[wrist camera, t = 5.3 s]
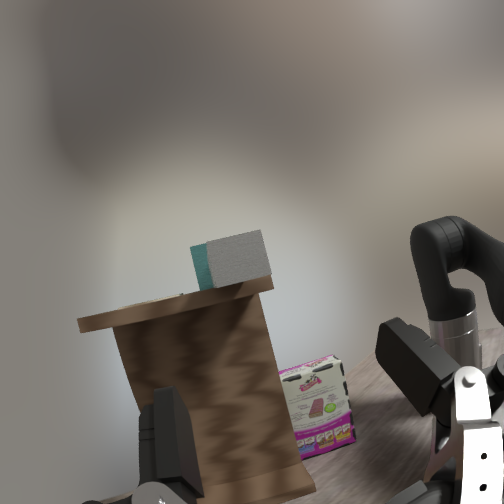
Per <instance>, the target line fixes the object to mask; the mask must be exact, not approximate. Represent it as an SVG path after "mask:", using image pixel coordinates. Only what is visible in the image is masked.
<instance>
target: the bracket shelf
mask: <svg viewBox="0 0 504 504" xmlns="http://www.w3.org/2000/svg"><path fill="white" fill-rule="evenodd" d="M272 289H274V287H273V282H272V278H271V275H267V276H263V277H259V278H255V279H251V280H247V281H243V282H239V283H235V284H231V285H227V286H223V287H219V288H210V289H206V290H202V291H198V292H193V293H189V294H185V295H183V293H182V294H177V295H173V296H169V297H165V298H160V299H156V300H152V301H147V302H143V303H138V304H134V305H129V306H125V307H120V308H118V310H114V311H110V312H105V313H101V314H96V315H92V316H88V317H83V318H78V319H77V321H78V325H79V328H80V333H85V332H90V331H95V330H100V329H106V328H110V327H112V328H113V332H114V335H115V339H116V342H117V346H118V349H119V352H120V356H121V359H122V362H123V365H124V368H125V371H126V375H127V378H128V380H129V383H130V386H131V389H132V392H133V395H134V397H135V400H136V403H137V405H138V408H139V410H140V413H141V412H142V409H143V407H144V405H150V404H154V390H155V389H158V388H164V387H169V386H175V387H176V389H177V390H178V392H179V394H180V396H181V398H182V400H183V402H184V404H185V406H186V407H187V409H188V412H189V414H190V418H191V422H192V428H193V435H194V441H195V448H196V454H197V459H198V465H199V471H200V476H201V481H202V486H203V491H204V496H205V498H198V499H196V500H197V504H279V503H282V502H286V501H289V500H292V499H295V498H298V497H301V496H304V495H307V494H310V493H313V492H316V487H315V483H314V481H313V480H312V478H311V477H310V475H309V473H308V472H307V470H306V468H305V467H304V465H303V463H302V461H301V457H300V453H299V449H298V445H297V441H296V438H295V434H294V430H293V426H292V422H291V418H290V414H289V411H288V407H287V403H286V399H285V395H284V391H283V387H282V383H281V380H280V376H279V372H278V368H277V364H276V360H275V356H274V352H273V349H272V344H271V341H270V337H269V333H268V329H267V325H266V321H265V317H264V313H263V309H262V305H261V301H260V298H259V293H260V292H264V291H268V290H272Z"/></svg>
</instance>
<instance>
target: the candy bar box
mask: <svg viewBox="0 0 504 504" xmlns="http://www.w3.org/2000/svg"><path fill="white" fill-rule="evenodd" d="M279 376H280V380H281V383H282V387H283V391H284V395H285V399H286V403H287V407H288V411H289V414H290V418H291V422H292V426H293V430H294V434H295V438H296V441H297V445H298V449H299V453H300V457H301V461H302V460H305V459H308V458H312V457H315V456H318V455H321V454H324V453H327V452H329V451H332V450H335V449H338V448H340V447H343V446H345V445H348V444H351V443H353V442H355V441H356V435H355V429H354V423H353V417H352V411H351V406H350V401H349V395H348V390H347V384H346V380H345V375H344V370H343V365H342V361H341V360H339V359H338V358H336V357H334V355H330V356H327V357H324V358H321V359H318V360H314V361H311V362H308V363H305V364H302V365H299V366H296V367H292V368H289V369H286V370H282V371H279Z"/></svg>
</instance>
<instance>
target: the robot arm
mask: <svg viewBox="0 0 504 504" xmlns="http://www.w3.org/2000/svg"><path fill="white" fill-rule="evenodd" d="M410 245H411V252H412V256H413V261H414V264H415V268H416V272H417V275H418V279H419V283H420V287H421V292H422V297H423V300H424V303H425V306H426V309H427V313H428V320H429V326H430V334H431V339H430V337H429V336H428V335H427V334H426V333H425V332H424V331H423V330H422V329H420V328H417V327H415V326H413V325H411V324H410V325H407V324H406V323H405V322H404V321H402V320H401V319H400V318H398V317H396V318H393V319H391V320H389V321H386V322H384V323H382V324H380V326H379V332H378V338H377V345H376V349H375V354H376V358H377V361H378V363H379V364H380V366H381V367H382V368H383V369H384V370H385V372H386V373H387V374H388V375H389V376H390V378H391V379H392V380H393V381H394V383H395V384H396V385H397V386H398V387H399V389H400V390H401V391H402V392H403V394H404V395H405V396H406V397H407V399H408V400H409V401H410V402H411V403H412V405H413V406H414V407H415V408H416V410H417V411H418V412H419V413H420V415H421V416H422V417H424V416H425V415H427V414H428V413H430V412H432V413H433V414H434V416H433V420H432V441H431V454H430V460H429V463H428V465H427V467H426V470H425V474H424V480H423V482H422V480H419V481H418V482H416V483H415V484H413V485H411V486H410V487H408V488H406V489H405V490H403V491H401V492H400V493H398V494H396V495H395V496H394V497H393V498H391V499H390V500H389V501H388V502H387V503H386V504H504V489H502V488H503V454H502V450H503V451H504V354H502V355H501V356H500V357H499V358H498V360H497V362H496V364H495V365H494V366H491V367H488V368H485V369H482V345H481V344H480V343H479V336H478V323H477V313H476V304H475V297H474V293H473V292H472V291H471V290H469V289H458V288H453V287H452V286H451V285H450V282H449V278H448V275H447V274H448V273H450V272H453V271H455V270H458V269H467V270H469V271H471V272H473V273H475V274H476V275H477V276H479V277H480V278H481V279H482V280H483V281H484V282H485V285H486V289H487V294H488V298H489V302H490V305H491V308H492V311H493V313H494V315H495V317H496V318H497V320H498V321H499V322H500V323H501V324H502V325H503V326H504V243H503V242H500V241H498V240H496V239H494V238H493V237H491V236H489V235H488V234H486V233H485V232H483V231H482V230H480V229H479V228H477V227H476V226H474V225H472V224H471V223H469V222H468V221H466V220H464V219H462V218H460V217H457V216H446V217H442V218H439V219H435V220H432V221H428V222H425V223H422V224H419V225H417V226H415V227H414V228H413V230H412V232H411V236H410ZM139 467H140V469H139V470H140V481H139V485H138V487H137V488H136V490H135V491H134V493H133V494H132V495H131V496H129V497H127V498H125V499H122V500H119V501H116V502H113V503H109V504H197V500H196V499H198V498H205V496H204V491H203V486H202V481H201V476H200V471H199V465H198V459H197V454H196V448H195V441H194V435H193V428H192V422H191V418H190V414H189V412H188V409H187V407H186V406H185V404H184V402H183V400H182V398H181V396H180V394H179V392H178V390H177V389H176V387H175V386H169V387H164V388H158V389H155V390H154V404H150V405H144V407H143V409H142V412H141V414H140V416H139ZM82 504H103V503H101V502H98V501H93V500H92V501H86V502H84V503H82Z"/></svg>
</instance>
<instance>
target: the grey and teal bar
mask: <svg viewBox="0 0 504 504" xmlns="http://www.w3.org/2000/svg"><path fill="white" fill-rule="evenodd" d="M190 249H191V254H192V259H193V263H194V267H195V271H196V276H197V279H198V284H199V288H200V291H202V290H206V289H210V288H219V287H223V286H227V285H231V284H235V283H239V282H243V281H247V280H251V279H255V278H259V277H263V276H267V275H271V274H272V273H271V269H270V265H269V262H268V257H267V253H266V250H265V246H264V242H263V238H262V234H261V231H260V230H257V231H252V232H247V233H243V234H239V235H234V236H230V237H226V238H222V239H217V240H213V241H208V242H206V243H205V244H201V245H196V246H192V247H190Z"/></svg>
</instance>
